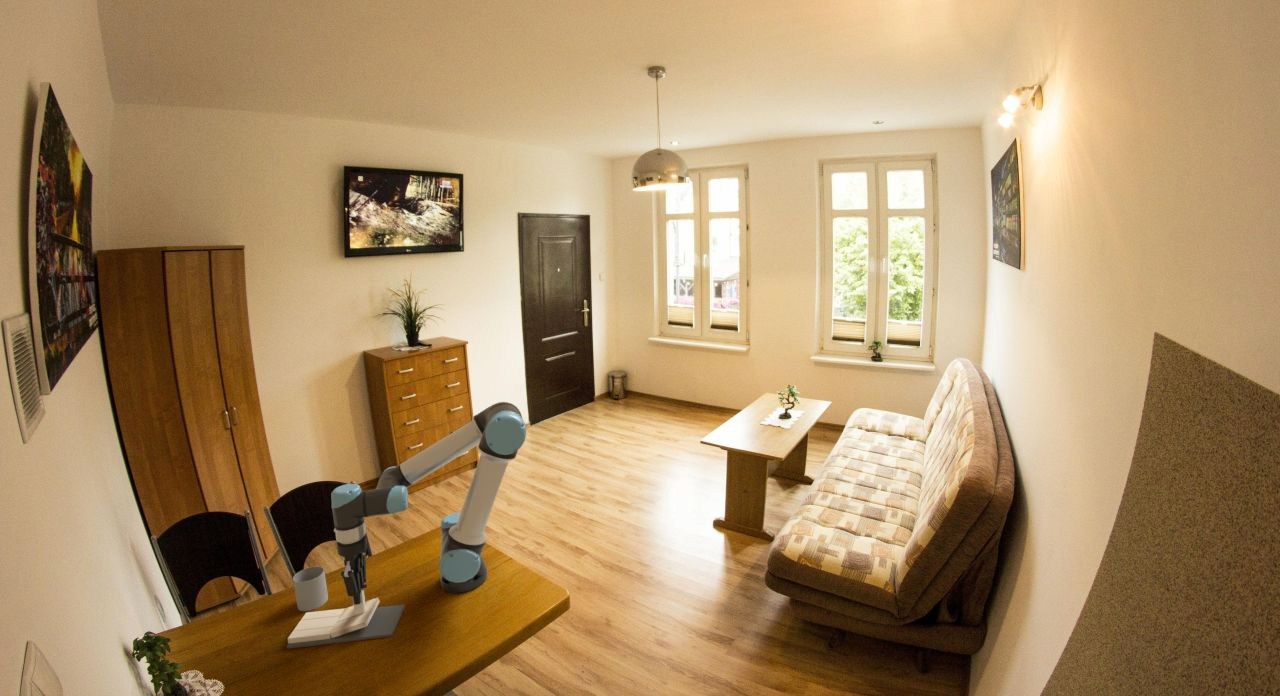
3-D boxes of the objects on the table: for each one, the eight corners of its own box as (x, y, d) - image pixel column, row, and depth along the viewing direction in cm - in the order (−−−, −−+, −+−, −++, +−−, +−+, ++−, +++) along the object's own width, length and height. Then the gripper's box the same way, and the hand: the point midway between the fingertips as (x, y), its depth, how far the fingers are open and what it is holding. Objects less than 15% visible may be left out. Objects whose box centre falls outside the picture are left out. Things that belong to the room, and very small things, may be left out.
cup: (313, 612, 162) (309, 583, 160) (290, 609, 163) (286, 580, 162) (334, 595, 170) (330, 567, 168) (312, 592, 171) (308, 565, 170)
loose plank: (379, 601, 161) (377, 597, 161) (366, 626, 150) (364, 621, 150) (347, 612, 160) (345, 608, 160) (331, 638, 149) (329, 633, 149)
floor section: (405, 606, 164) (404, 599, 163) (392, 636, 151) (391, 628, 150) (308, 617, 160) (307, 610, 159) (287, 648, 147) (285, 640, 146)
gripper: (346, 527, 156) (355, 598, 161) (327, 551, 144) (337, 627, 148) (372, 525, 158) (381, 595, 162) (356, 548, 145) (365, 624, 149)
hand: (360, 610), depth 155 cm, fingers closed
